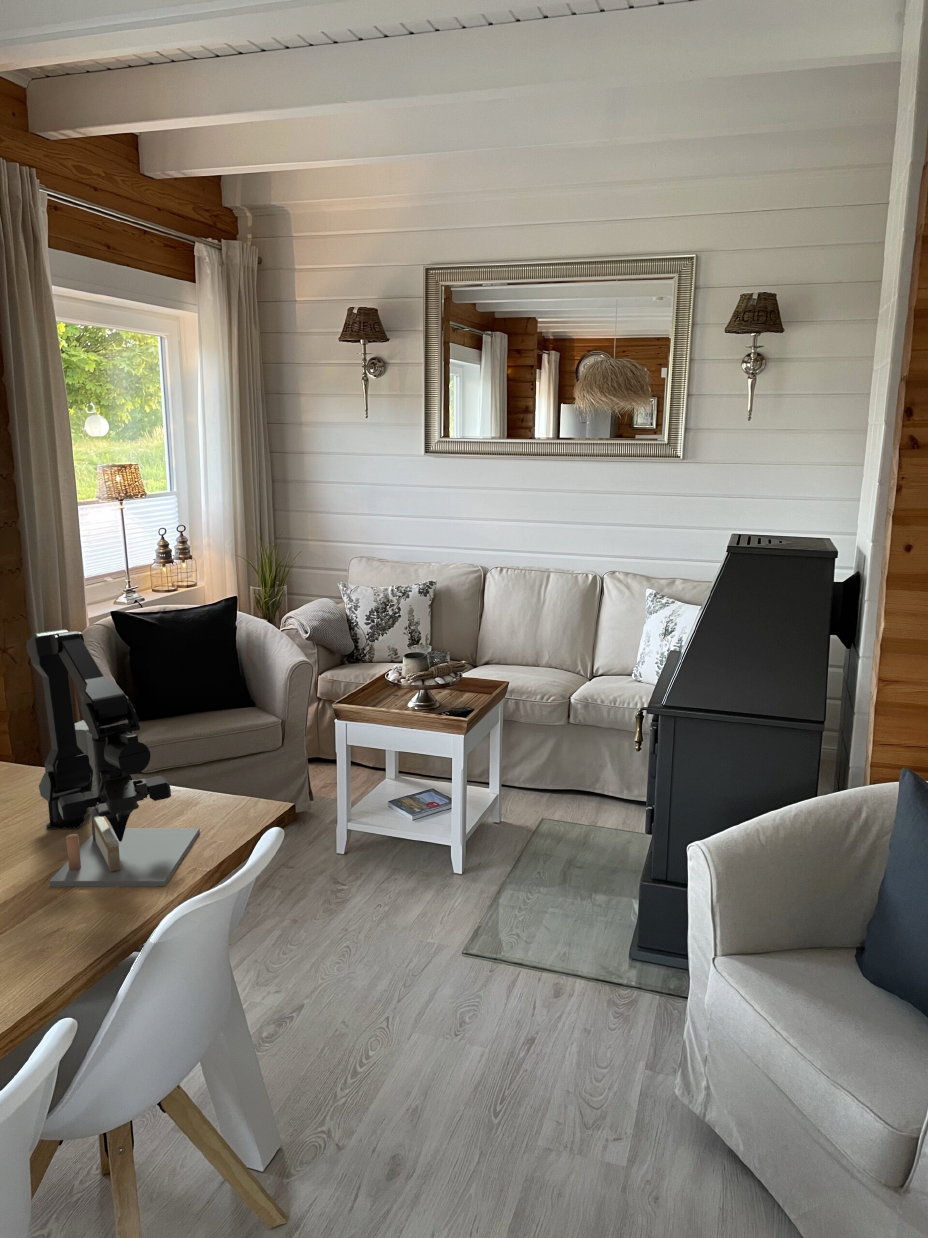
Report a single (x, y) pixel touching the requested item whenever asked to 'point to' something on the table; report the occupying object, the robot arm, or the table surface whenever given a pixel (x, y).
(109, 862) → the gate
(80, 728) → the skincare box
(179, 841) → the board
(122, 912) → the table surface
